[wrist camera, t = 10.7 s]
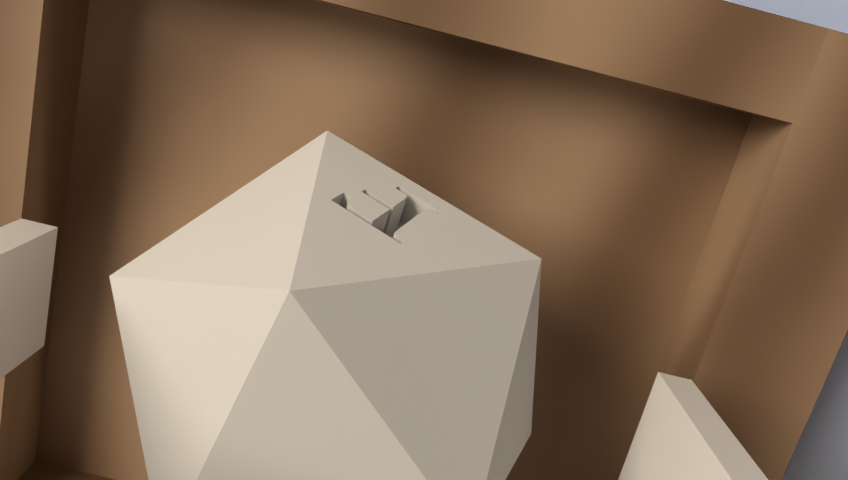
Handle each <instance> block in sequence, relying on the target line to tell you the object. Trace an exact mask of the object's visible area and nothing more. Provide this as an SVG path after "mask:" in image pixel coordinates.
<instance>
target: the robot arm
mask: <svg viewBox="0 0 848 480" xmlns="http://www.w3.org/2000/svg"><path fill="white" fill-rule="evenodd" d="M57 231H58V227H55V226H51V225H46V224H42V223H38V222H34V221H30V220H26V219H22V218H21V219H19V220H16V221H14V222H11V223H9V224H7V225H4V226H2V227H0V379H1V378H2V377H4V376H5V375H6V374H8V373H9V372H10V371H12V370H13V369H14V368H15V367H17V366H18V365H19V364H21V363H22V362H23V361H25V360H26V359H27V358H29V357H30V356H31V355H33V354H34V353H35V352H37V351H38V350H39V349H40V348H42V347H43V346H44V342H45V334H46V325H47V316H48V308H49V299H50V291H51V282H52V274H53V265H54V256H55V248H56V239H57ZM618 480H768V479H767V477H766V476H765V475H764V473H763V472H762V471H761V470H760V468H759V467H758V466H757V464H756V463H755V462H754V460H753V459H752V458H751V457H750V455H749V454H748V453H747V451H746V450H745V449H744V447H743V446H742V445H741V444H740V442H739V441H738V440H737V438H736V437H735V436H734V434H733V433H732V432H731V431H730V429H729V428H728V427H727V425H726V424H725V423H724V421H723V420H722V419H721V417H720V416H719V415H718V414H717V412H716V411H715V410H714V408H713V407H712V406H711V404H710V403H709V402H708V401H707V399H706V398H705V397H704V395H703V394H702V393H701V391H700V390H699V389H698V388H697V386H696V385H695V384H694V382H693V381H692V380H690V379H686V378H681V377H677V376H673V375H669V374H665V373H661V372H658V374H657V376H656V379H655V382H654V385H653V387H652V390H651V393H650V395H649V398H648V401H647V403H646V406H645V409H644V412H643V414H642V417H641V420H640V422H639V425H638V428H637V431H636V433H635V436H634V439H633V441H632V444H631V447H630V449H629V452H628V455H627V458H626V460H625V463H624V466H623V468H622V471H621V474H620V476H619V479H618Z"/></svg>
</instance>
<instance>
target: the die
mask: <svg viewBox="0 0 848 480" xmlns="http://www.w3.org/2000/svg"><path fill="white" fill-rule="evenodd" d="M541 260H542V259H541V258H540V257H538V256H536V255H535V254H533V253H531V252H530V251H528V250H526V249H525V248H523V247H521V246H520V245H518V244H516V243H515V242H513V241H511V240H510V239H508V238H506V237H505V236H503V235H501V234H500V233H498V232H496V231H495V230H493V229H491V228H490V227H488V226H486V225H485V224H483V223H481V222H480V221H478V220H476V219H475V218H473V217H471V216H470V215H468V214H466V213H465V212H463V211H461V210H459V209H458V208H456V207H454V206H453V205H451V204H449V203H448V202H446V201H444V200H443V199H441V198H439V197H438V196H436V195H434V194H433V193H431V192H429V191H428V190H426V189H424V188H423V187H421V186H419V185H418V184H416V183H414V182H413V181H411V180H409V179H408V178H406V177H404V176H403V175H401V174H399V173H398V172H396V171H394V170H393V169H391V168H389V167H388V166H386V165H384V164H383V163H381V162H379V161H378V160H376V159H374V158H373V157H371V156H369V155H368V154H366V153H364V152H363V151H361V150H359V149H358V148H356V147H354V146H353V145H351V144H349V143H348V142H346V141H344V140H343V139H341V138H339V137H338V136H336V135H334V134H333V133H331V132H329V131H326V132H324V133H323V134H321V135H320V136H318V137H317V138H315V139H314V140H312V141H311V142H309V143H308V144H306V145H305V146H303V147H302V148H300V149H299V150H297V151H296V152H294V153H293V154H291V155H290V156H288V157H287V158H285V159H284V160H282V161H281V162H279V163H278V164H276V165H275V166H273V167H272V168H270V169H269V170H267V171H266V172H264V173H263V174H261V175H260V176H258V177H257V178H255V179H254V180H252V181H251V182H249V183H248V184H246V185H245V186H243V187H242V188H240V189H239V190H237V191H236V192H234V193H233V194H231V195H230V196H228V197H227V198H225V199H224V200H222V201H221V202H219V203H218V204H216V205H215V206H213V207H212V208H210V209H209V210H207V211H206V212H204V213H203V214H201V215H200V216H198V217H197V218H195V219H194V220H192V221H191V222H189V223H188V224H186V225H185V226H183V227H182V228H180V229H179V230H177V231H176V232H174V233H173V234H171V235H170V236H168V237H167V238H165V239H164V240H162V241H161V242H159V243H158V244H156V245H155V246H153V247H152V248H150V249H149V250H147V251H146V252H144V253H143V254H141V255H140V256H138V257H137V258H135V259H134V260H132V261H131V262H129V263H128V264H126V265H125V266H123V267H122V268H120V269H119V270H117V271H116V272H114V273H113V274H111V275H110V276H109V277H110V283H111V288H112V293H113V298H114V303H115V309H116V314H117V319H118V324H119V329H120V334H121V340H122V345H123V350H124V355H125V360H126V366H127V371H128V376H129V381H130V386H131V392H132V397H133V402H134V407H135V412H136V418H137V423H138V428H139V433H140V438H141V444H142V449H143V454H144V459H145V464H146V470H147V475H148V480H506V478H507V476H508V474H509V472H510V471H511V469H512V467H513V465H514V463H515V462H516V460H517V458H518V456H519V455H520V453H521V451H522V449H523V447H524V446H525V444H526V442H527V440H528V438H529V437H530V435H531V428H532V411H533V394H534V378H535V361H536V344H537V327H538V310H539V294H540V277H541Z"/></svg>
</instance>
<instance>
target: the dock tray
mask: <svg viewBox="0 0 848 480" xmlns="http://www.w3.org/2000/svg"><path fill="white" fill-rule="evenodd" d="M326 131H329V132H331V133H333V134H334V135H336V136H338V137H339V138H341V139H343V140H344V141H346V142H348V143H349V144H351V145H353V146H354V147H356V148H358V149H359V150H361V151H363V152H364V153H366V154H368V155H369V156H371V157H373V158H374V159H376V160H378V161H379V162H381V163H383V164H384V165H386V166H388V167H389V168H391V169H393V170H394V171H396V172H398V173H399V174H401V175H403V176H404V177H406V178H408V179H409V180H411V181H413V182H414V183H416V184H418V185H419V186H421V187H423V188H424V189H426V190H428V191H429V192H431V193H433V194H434V195H436V196H438V197H439V198H441V199H443V200H444V201H446V202H448V203H449V204H451V205H453V206H454V207H456V208H458V209H459V210H461V211H463V212H465V213H466V214H468V215H470V216H471V217H473V218H475V219H476V220H478V221H480V222H481V223H483V224H485V225H486V226H488V227H490V228H491V229H493V230H495V231H496V232H498V233H500V234H501V235H503V236H505V237H506V238H508V239H510V240H511V241H513V242H515V243H516V244H518V245H520V246H521V247H523V248H525V249H526V250H528V251H530V252H531V253H533V254H535V255H536V256H538V257H540V258H541V259H542V260H541V277H540V294H539V310H538V327H537V344H536V361H535V378H534V394H533V411H532V428H531V435H530V437H529V438H528V440H527V442H526V444H525V446H524V447H523V449H522V451H521V453H520V455H519V456H518V458H517V460H516V462H515V463H514V465H513V467H512V469H511V471H510V472H509V474H508V476H507V478H506V480H618V479H619V476H620V474H621V471H622V468H623V466H624V463H625V460H626V458H627V455H628V452H629V449H630V447H631V444H632V441H633V439H634V436H635V433H636V431H637V428H638V425H639V422H640V420H641V417H642V414H643V412H644V409H645V406H646V403H647V401H648V398H649V395H650V393H651V390H652V387H653V385H654V382H655V379H656V376H657V374H658V372H661V373H665V374H669V375H673V376H677V377H681V378H686V379H690V380H692V381H693V382H694V384H695V385H696V386H697V388H698V389H699V390H700V391H701V393H702V394H703V395H704V397H705V398H706V399H707V401H708V402H709V403H710V404H711V406H712V407H713V408H714V410H715V411H716V412H717V414H718V415H719V416H720V417H721V419H722V420H723V421H724V423H725V424H726V425H727V427H728V428H729V429H730V431H731V432H732V433H733V434H734V436H735V437H736V438H737V440H738V441H739V442H740V444H741V445H742V446H743V447H744V449H745V450H746V451H747V453H748V454H749V455H750V457H751V458H752V459H753V460H754V462H755V463H756V464H757V466H758V467H759V468H760V470H761V471H762V472H763V473H764V475H765V476H766V477H767V479H768V480H782V478H783V476H784V473H785V471H786V469H787V467H788V464H789V462H790V460H791V458H792V455H793V453H794V451H795V448H796V446H797V444H798V442H799V439H800V437H801V435H802V433H803V430H804V428H805V426H806V423H807V421H808V419H809V417H810V414H811V412H812V410H813V408H814V405H815V403H816V401H817V398H818V396H819V394H820V392H821V389H822V387H823V385H824V383H825V380H826V378H827V376H828V373H829V371H830V369H831V367H832V364H833V362H834V360H835V358H836V355H837V353H838V351H839V348H840V346H841V344H842V342H843V339H844V337H845V335H846V333H847V330H848V34H846V33H842V32H839V31H835V30H831V29H827V28H824V27H820V26H816V25H813V24H809V23H805V22H801V21H798V20H794V19H790V18H786V17H783V16H779V15H775V14H772V13H768V12H764V11H760V10H757V9H753V8H749V7H745V6H742V5H738V4H734V3H731V2H727V1H723V0H0V227H2V226H4V225H7V224H9V223H11V222H14V221H16V220H19V219H21V218H22V219H26V220H30V221H34V222H38V223H42V224H46V225H51V226H55V227H58V231H57V239H56V248H55V256H54V265H53V274H52V282H51V291H50V299H49V308H48V316H47V325H46V334H45V342H44V346H43V347H42V348H40V349H39V350H38V351H37V352H35V353H34V354H33V355H31V356H30V357H29V358H27V359H26V360H25V361H23V362H22V363H21V364H19V365H18V366H17V367H15V368H14V369H13V370H12V371H10V372H9V373H8V374H6V375H5V376H4V377H2V378H1V379H0V480H148V475H147V470H146V464H145V459H144V454H143V449H142V444H141V438H140V433H139V428H138V423H137V418H136V412H135V407H134V402H133V397H132V392H131V386H130V381H129V376H128V371H127V366H126V360H125V355H124V350H123V345H122V340H121V334H120V329H119V324H118V319H117V314H116V309H115V303H114V298H113V293H112V288H111V283H110V277H109V276H110V275H111V274H113V273H114V272H116V271H117V270H119V269H120V268H122V267H123V266H125V265H126V264H128V263H129V262H131V261H132V260H134V259H135V258H137V257H138V256H140V255H141V254H143V253H144V252H146V251H147V250H149V249H150V248H152V247H153V246H155V245H156V244H158V243H159V242H161V241H162V240H164V239H165V238H167V237H168V236H170V235H171V234H173V233H174V232H176V231H177V230H179V229H180V228H182V227H183V226H185V225H186V224H188V223H189V222H191V221H192V220H194V219H195V218H197V217H198V216H200V215H201V214H203V213H204V212H206V211H207V210H209V209H210V208H212V207H213V206H215V205H216V204H218V203H219V202H221V201H222V200H224V199H225V198H227V197H228V196H230V195H231V194H233V193H234V192H236V191H237V190H239V189H240V188H242V187H243V186H245V185H246V184H248V183H249V182H251V181H252V180H254V179H255V178H257V177H258V176H260V175H261V174H263V173H264V172H266V171H267V170H269V169H270V168H272V167H273V166H275V165H276V164H278V163H279V162H281V161H282V160H284V159H285V158H287V157H288V156H290V155H291V154H293V153H294V152H296V151H297V150H299V149H300V148H302V147H303V146H305V145H306V144H308V143H309V142H311V141H312V140H314V139H315V138H317V137H318V136H320V135H321V134H323V133H324V132H326Z"/></svg>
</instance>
